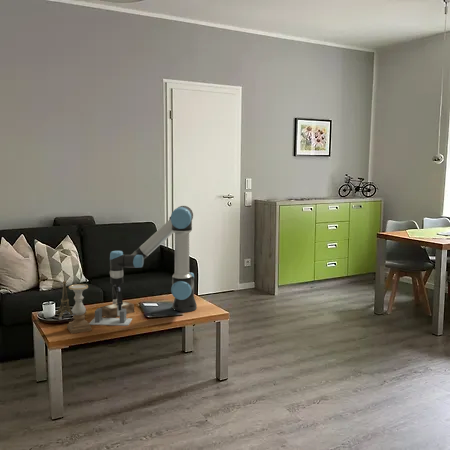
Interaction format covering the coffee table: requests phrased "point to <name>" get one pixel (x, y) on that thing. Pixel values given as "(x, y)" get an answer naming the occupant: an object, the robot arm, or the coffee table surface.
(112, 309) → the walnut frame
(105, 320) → the board
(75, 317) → the candle holder
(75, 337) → the coffee table surface
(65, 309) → the eiffel tower
